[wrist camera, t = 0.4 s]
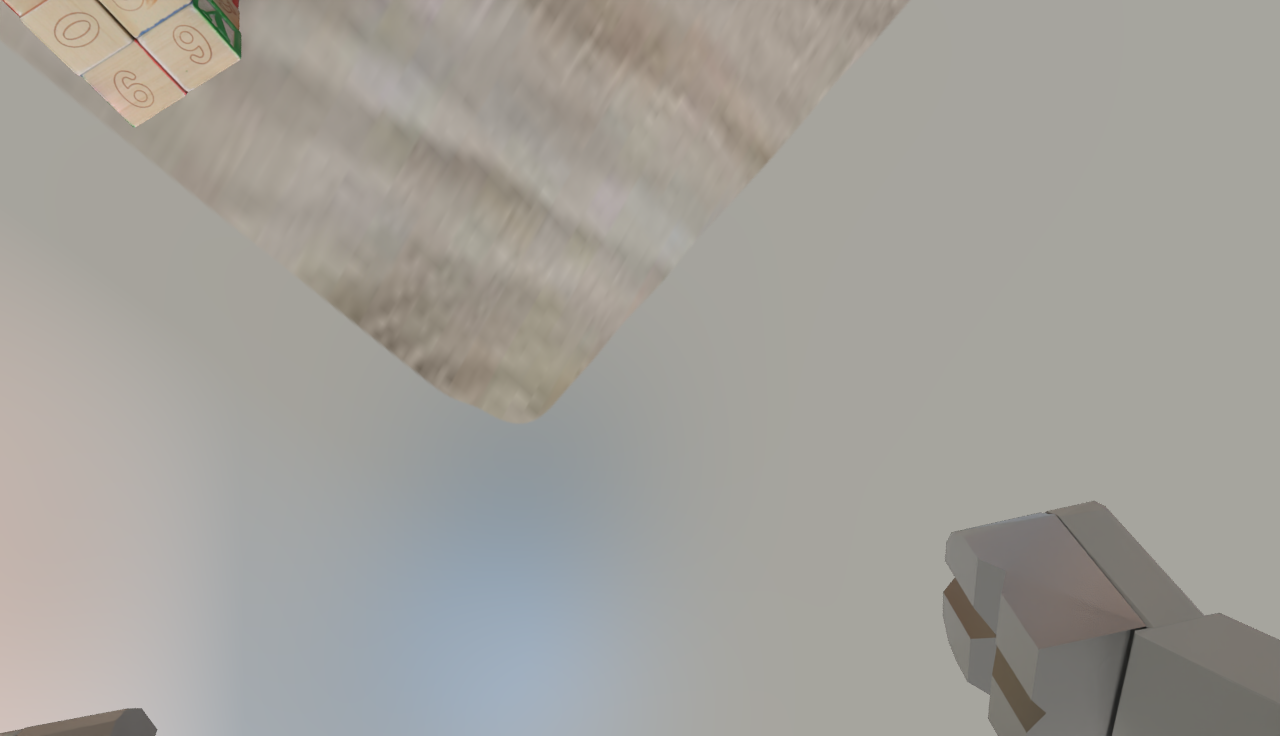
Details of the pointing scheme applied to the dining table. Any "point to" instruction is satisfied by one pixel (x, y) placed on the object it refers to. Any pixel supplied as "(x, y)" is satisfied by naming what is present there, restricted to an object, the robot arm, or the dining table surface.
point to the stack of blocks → (138, 46)
